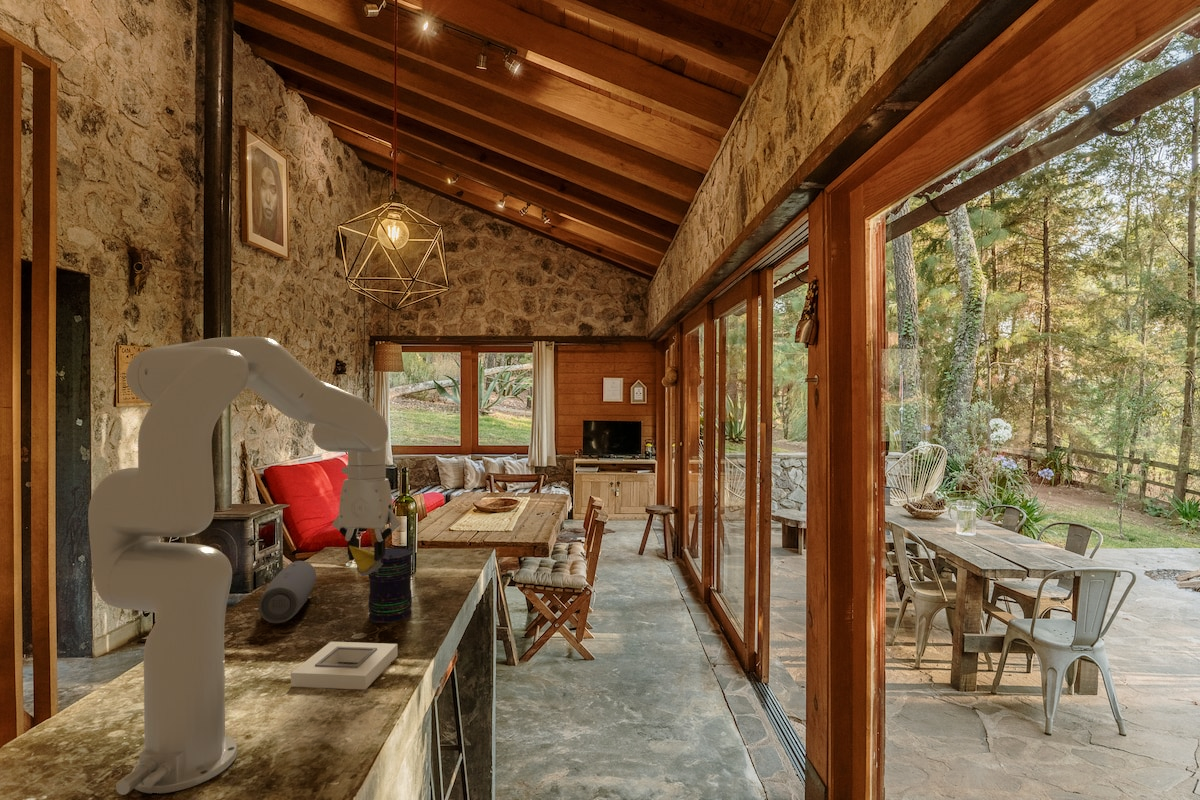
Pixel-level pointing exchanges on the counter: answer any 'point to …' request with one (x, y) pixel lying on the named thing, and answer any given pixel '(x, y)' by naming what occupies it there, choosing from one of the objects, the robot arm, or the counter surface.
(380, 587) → the black cylinder
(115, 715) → the counter surface
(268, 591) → the bluetooth speaker
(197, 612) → the robot arm
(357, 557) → the yellow ridged cone
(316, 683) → the square frame plate
